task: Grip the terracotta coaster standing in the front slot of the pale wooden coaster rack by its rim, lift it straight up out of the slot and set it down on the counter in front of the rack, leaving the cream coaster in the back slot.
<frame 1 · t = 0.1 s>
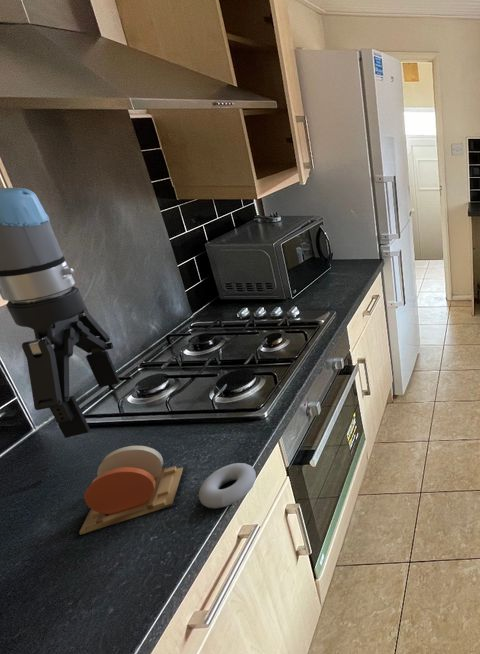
hand: (95, 407, 70), 27 cm above the worktop, tool pointing down, fingers open, 13 cm apart
donut: (230, 491, 87), on the worktop
coaster rack: (135, 499, 85), on the worktop
cream coaster: (139, 485, 87), point 1 cm above the worktop, touching coaster rack
terracotta coaster: (130, 509, 82), point 1 cm above the worktop, touching coaster rack
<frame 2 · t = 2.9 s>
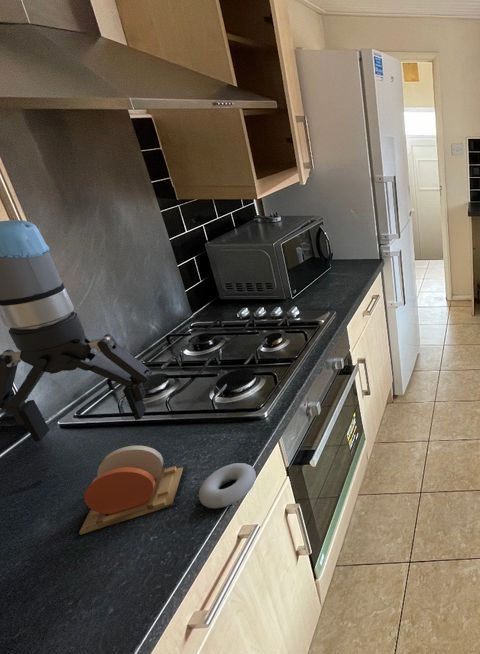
hand: (93, 425, 73), 22 cm above the worktop, tool pointing down, fingers open, 13 cm apart
nothing on the worktop moved.
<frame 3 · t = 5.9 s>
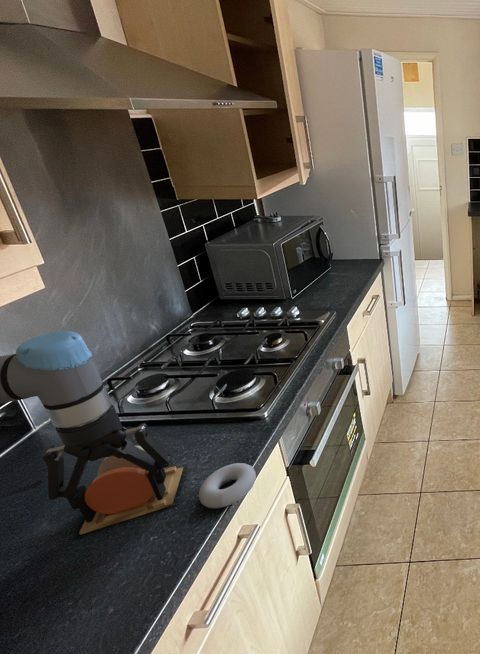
hand: (128, 505, 81), 2 cm above the worktop, tool pointing down, fingers closed on terracotta coaster, 10 cm apart
terracotta coaster: (130, 509, 82), point 1 cm above the worktop, touching coaster rack, gripper
everything else where it was.
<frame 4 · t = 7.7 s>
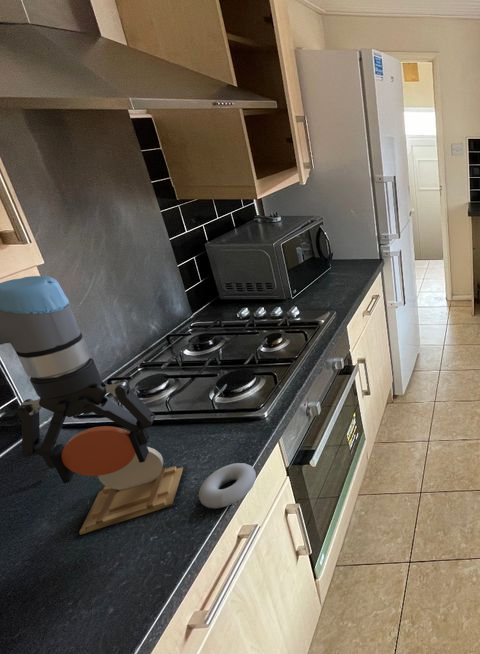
hand: (108, 466, 77), 12 cm above the worktop, tool pointing down, fingers closed on terracotta coaster, 10 cm apart
terracotta coaster: (110, 471, 78), point 11 cm above the worktop, touching gripper
everything else where it was.
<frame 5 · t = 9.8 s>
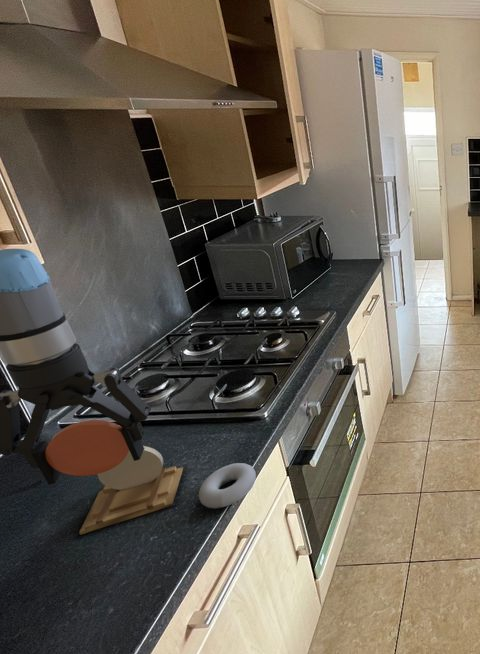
hand: (99, 465, 70), 19 cm above the worktop, tool pointing down, fingers closed on terracotta coaster, 10 cm apart
terracotta coaster: (101, 470, 70), point 17 cm above the worktop, touching gripper
everything else where it was.
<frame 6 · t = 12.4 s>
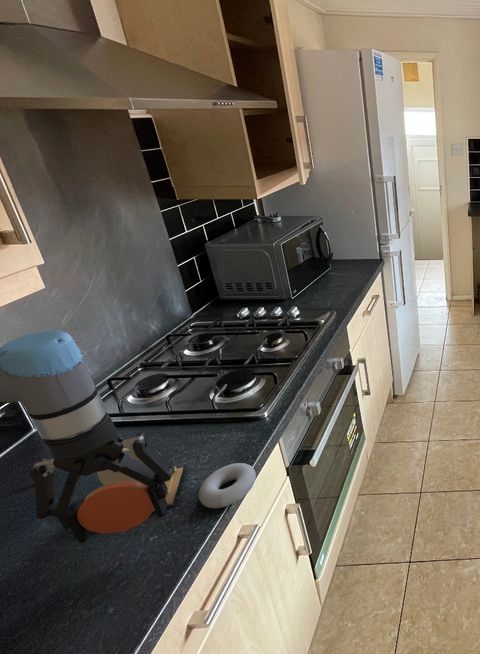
hand: (126, 522, 74), 6 cm above the worktop, tool pointing down, fingers closed on terracotta coaster, 10 cm apart
terracotta coaster: (128, 527, 74), point 5 cm above the worktop, touching gripper
everything else where it was.
when the fingers open (1 cm above the worktop, at t = 14.2 s): terracotta coaster stays where it is, on the worktop.
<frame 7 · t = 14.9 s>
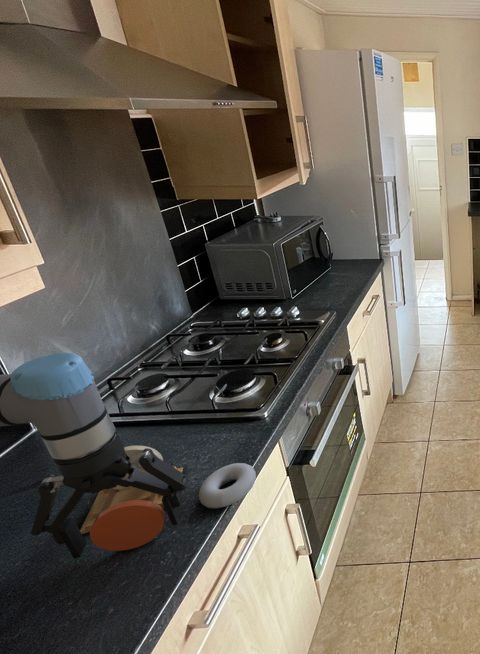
hand: (130, 534, 75), 3 cm above the worktop, tool pointing down, fingers open, 13 cm apart
terracotta coaster: (137, 544, 76), on the worktop
everything else where it was.
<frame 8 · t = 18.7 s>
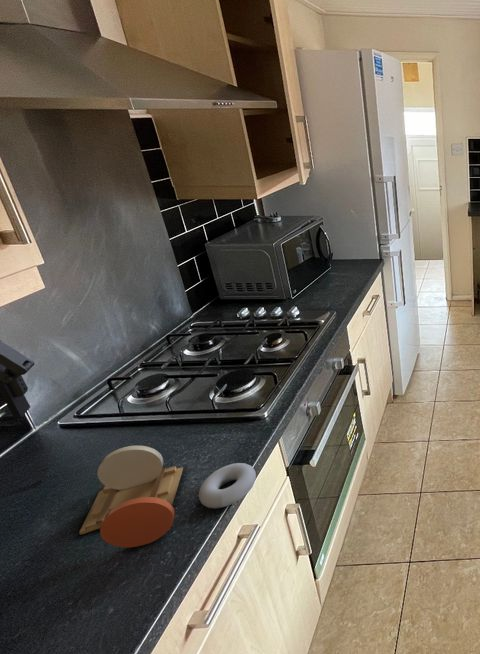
terracotta coaster: (136, 543, 76), on the worktop, tilted 18°
everything else where it was.
at the end: terracotta coaster inside the target area (2.5 cm from its centre), on the worktop; the gripper is holding nothing; cream coaster moved 0.0 cm from its start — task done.
